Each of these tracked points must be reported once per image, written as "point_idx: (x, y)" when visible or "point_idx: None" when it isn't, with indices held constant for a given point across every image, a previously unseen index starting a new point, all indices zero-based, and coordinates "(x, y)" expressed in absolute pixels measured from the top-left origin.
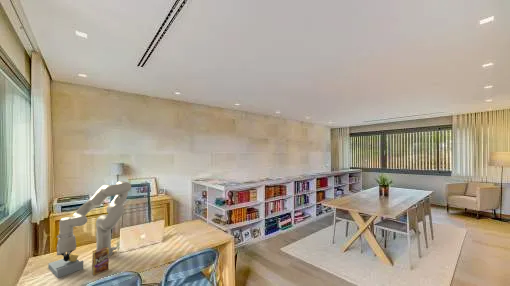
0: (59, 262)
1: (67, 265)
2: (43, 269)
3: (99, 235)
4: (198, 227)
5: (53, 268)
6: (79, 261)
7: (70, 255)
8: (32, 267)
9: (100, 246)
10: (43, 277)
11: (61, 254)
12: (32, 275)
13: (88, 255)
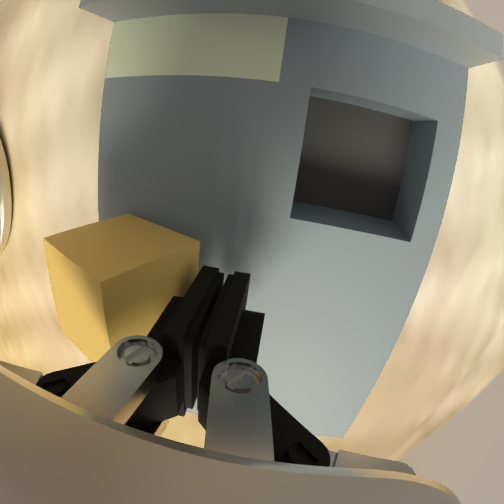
0: (276, 380)
1: (265, 173)
2: (375, 403)
3: None
4: None
5: (418, 278)
6: (101, 152)
7: None
8: None
9: None
10: (487, 240)
11: (318, 450)
12: (470, 368)
13: (38, 307)
